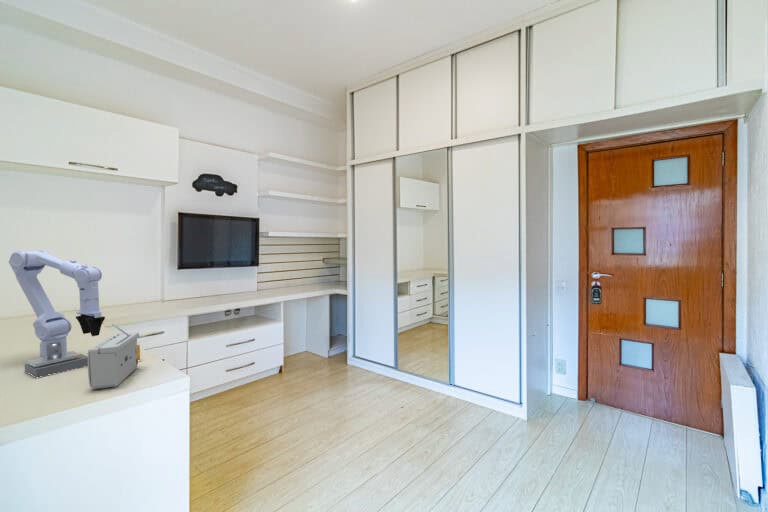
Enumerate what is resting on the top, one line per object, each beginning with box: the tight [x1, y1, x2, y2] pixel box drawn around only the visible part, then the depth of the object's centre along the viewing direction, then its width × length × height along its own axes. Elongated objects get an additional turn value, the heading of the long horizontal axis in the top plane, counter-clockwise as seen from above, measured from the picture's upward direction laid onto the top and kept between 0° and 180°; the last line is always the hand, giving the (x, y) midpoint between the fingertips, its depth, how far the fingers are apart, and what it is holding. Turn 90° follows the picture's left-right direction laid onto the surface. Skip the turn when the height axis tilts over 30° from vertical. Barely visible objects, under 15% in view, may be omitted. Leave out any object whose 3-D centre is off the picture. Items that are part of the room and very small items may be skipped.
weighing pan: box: [26, 351, 81, 367], centre depth 134 cm, size 8×13×1 cm, turn 148°
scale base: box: [24, 353, 88, 378], centre depth 135 cm, size 12×15×3 cm
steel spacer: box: [46, 342, 62, 359], centre depth 134 cm, size 4×4×5 cm
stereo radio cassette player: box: [87, 323, 140, 390], centre depth 124 cm, size 21×8×20 cm, turn 17°
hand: (91, 334), depth 143 cm, fingers open, 7 cm apart
